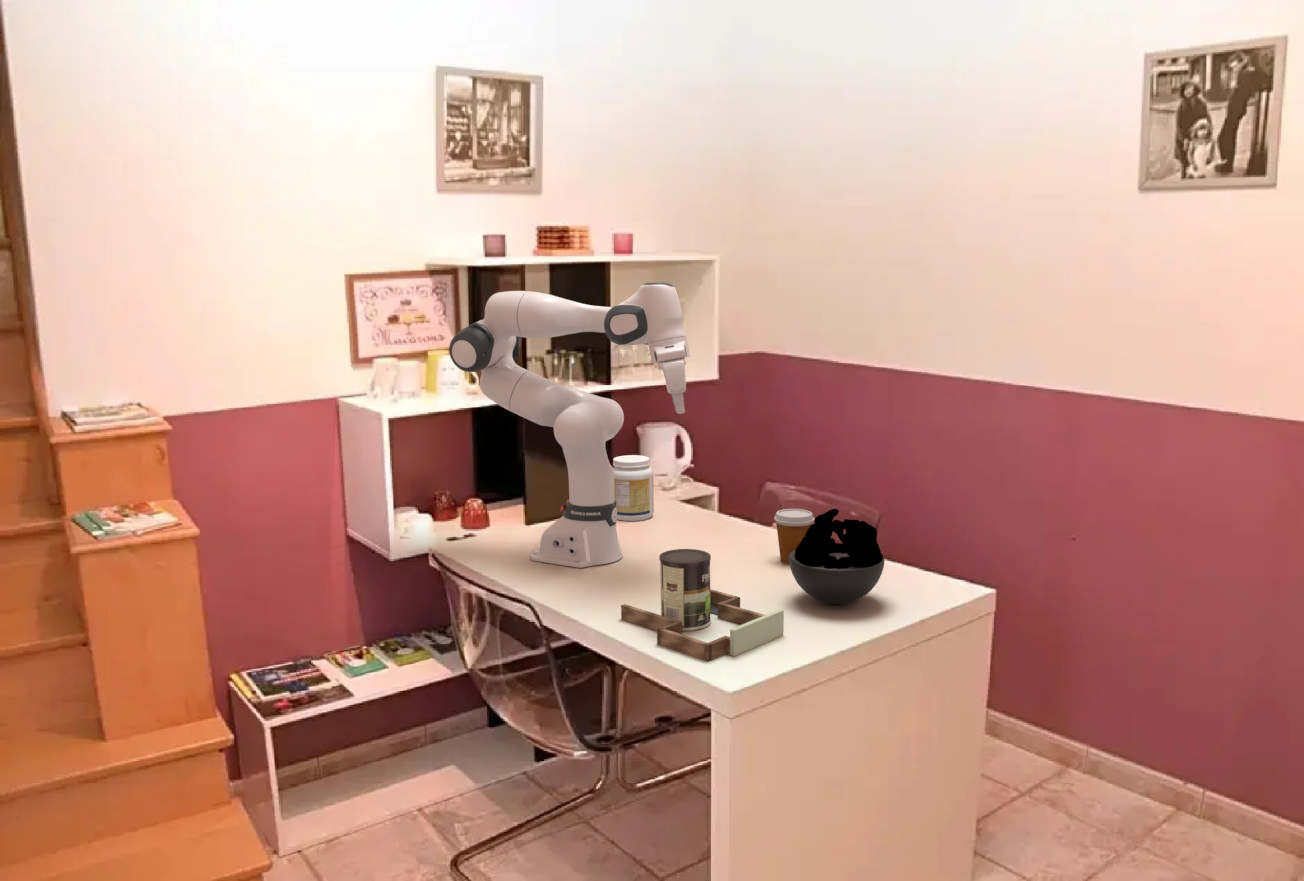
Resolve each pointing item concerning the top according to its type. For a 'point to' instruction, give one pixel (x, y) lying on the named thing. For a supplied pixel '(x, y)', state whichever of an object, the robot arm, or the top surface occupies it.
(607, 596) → the top surface
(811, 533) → the coal bowl
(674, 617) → the coffee can
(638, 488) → the supplement tub
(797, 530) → the disposable coffee cup
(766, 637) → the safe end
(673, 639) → the trap lane
